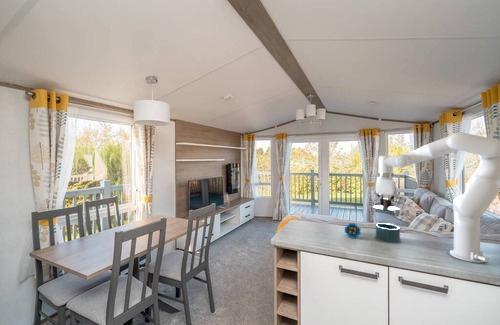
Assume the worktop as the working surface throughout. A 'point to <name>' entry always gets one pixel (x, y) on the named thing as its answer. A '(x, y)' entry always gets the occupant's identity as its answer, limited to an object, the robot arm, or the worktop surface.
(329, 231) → the worktop surface
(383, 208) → the tin lid
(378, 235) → the tin
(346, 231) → the toy flower
